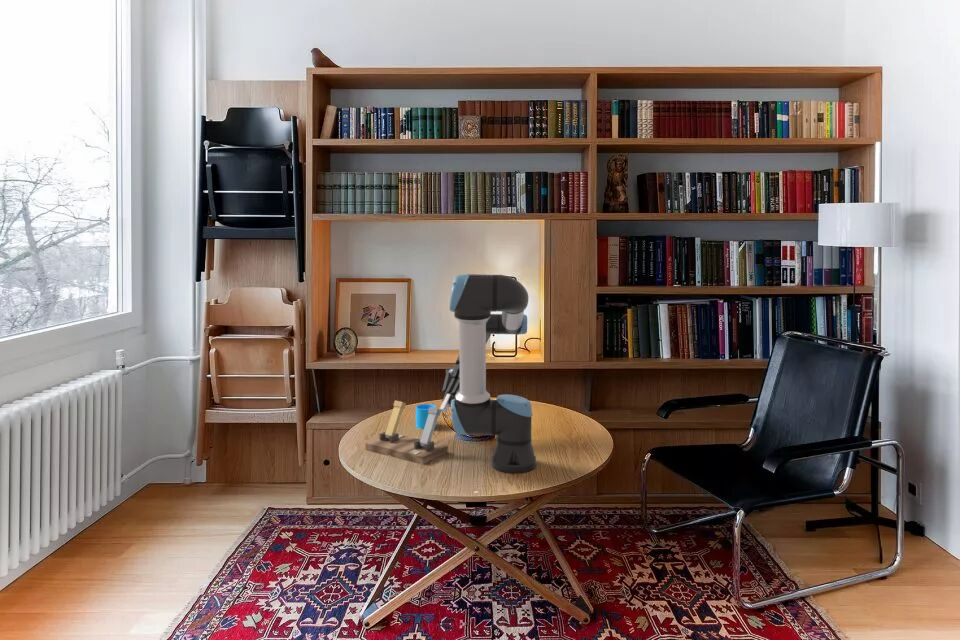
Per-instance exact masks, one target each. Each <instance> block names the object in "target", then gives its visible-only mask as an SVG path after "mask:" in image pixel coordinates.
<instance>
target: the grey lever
mask: <svg viewBox="0 0 960 640" xmlns="http://www.w3.org/2000/svg"><path fill="white" fill-rule="evenodd" d="M441 412H442V411H441V410H440V408H437V407H436V408H432V407H429V411H428V413H429V415H428V418H427V421H426V424H425V427H424V430H423V431H422V434H421V437H420V439H421V440H420V446H421V447H425V444H427V443H430V442H432V438H433V435H434V431H435V429H436V428H435V425H436V426H437V422H438V418H439V416H441Z"/></svg>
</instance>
